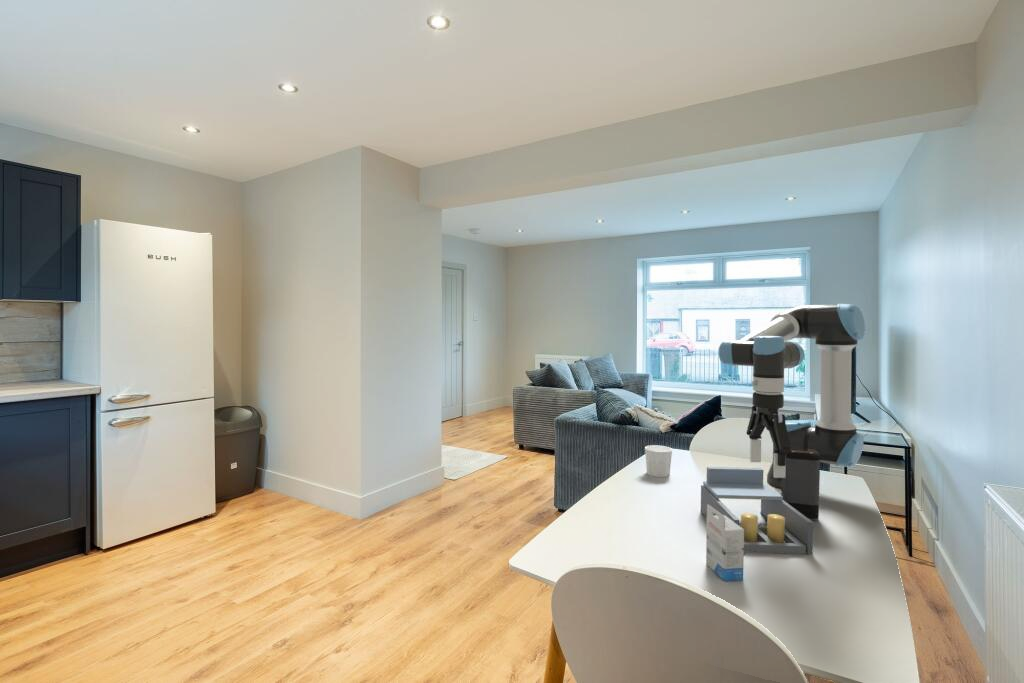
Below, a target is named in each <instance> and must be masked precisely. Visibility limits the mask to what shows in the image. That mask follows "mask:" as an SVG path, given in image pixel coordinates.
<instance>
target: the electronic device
mask: <svg viewBox="0 0 1024 683" xmlns="http://www.w3.org/2000/svg"><path fill="white" fill-rule="evenodd" d="M820 465H821V462H820V454H819V453H818V452H817V451H815V450H810V449H807V451H799V450H792V449H791V453H786V471H785V478H782V488H781V494H780V495H781V496H783V500H784V501H785V502H787V503H788V504H789V505H791V506H792V507H793V508H795V509H796V510H797V511H799V512H800V513H801V514H803V515H804V516H805V517H807V518H808V519H810V520H811V521H812V522H816V521H817V522H818V521H819V516H820V515H819V513H820V512H819V511H820V480H821V479H820V478H821V477H820V476H821V474H820V473H821V472H820V471H821V466H820Z"/></svg>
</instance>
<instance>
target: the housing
mask: <svg viewBox="0 0 1024 683" xmlns="http://www.w3.org/2000/svg"><path fill="white" fill-rule="evenodd" d="M708 504H709V505H710V506H711V507H713V508H714V509H716V510H717V511H718V512H719V513H721V514H722V515H725V516H726V517H728V518H729V519H730V520H732V521H733V522H734V523H736V524H737V525H739V526H740V527H741V524H740V519H739V517H737V516H736V515H735V514H734V513H733V512H732V511H731V510H730V509H729V508H728V507H727V506H726V504H725V503H723V501H722V500H720V498H716V497H715V496H714V495H713V494H712V493H711V492H710V491H709V490H708V489H707V488H706V487H705V486H704V485H703V484H701V485H700V513H702V515H703V516H704V517H705V518H706V519H707V505H708ZM760 514H761V515H762V516H763V517H765V518H766V519H767V520H768V515H769V514H776V515H780V516H783V517H784V518H785V533H784V543H773V542H772V541H771V540H770V539H769V538H768V537H767V525H758V533H757V542H745V541H744V553H758V554H759V553H760V554H761V553H762V554H786V555H787V554H788V555H789V554H790V555H791V554H792V555H794V554H795V555H813V548H814V545H813V541H814V521H811V520H810V519H808V518H807V517H805V516H804V515H803V514H801V513H800V512H799V511H797V510H796V509H795V508H793V507H792V506H791V505H789V504H788V503H787V502H785V501H784V500H760ZM713 516H716V513H715V514H714V513H713Z"/></svg>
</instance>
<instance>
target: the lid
mask: <svg viewBox="0 0 1024 683" xmlns="http://www.w3.org/2000/svg"><path fill="white" fill-rule="evenodd" d="M702 485H704V486H705V487H706V488H707V489H708V490H709V491H710V492H711V493H712V494H713V495H714V496H715V497H716V498H718V499H722V500H723V499H726V500H727V499H729V500H730V499H731V500H732V499H733V500H760V501H761V500H783V496H781V495H782V494H780V493H778V492H777V491H776V490H774V489H773V488H772V487H770V486H769V485H768V484H766V483H765V482H764V469H763V468H762V467H733V466H732V467H731V466H729V467H728V466H726V467H725V466H706V481H705V480H703V481H702Z"/></svg>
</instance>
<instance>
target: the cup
mask: <svg viewBox="0 0 1024 683" xmlns="http://www.w3.org/2000/svg"><path fill="white" fill-rule="evenodd" d="M644 452H645V463H646V464H645V465H646V466H645V467H646V473H647V474H648V475H649V476H653V477H655V478H659V477H660V478H666V477H668V476H670V475H671V466H672V465H671V463H672V456H673V455H672V454H673V448H671V447H669V446H665V445H660V444H658V445H657V444H656V445H655V444H652V445H651V444H650V445H646V446H645V447H644Z"/></svg>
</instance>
